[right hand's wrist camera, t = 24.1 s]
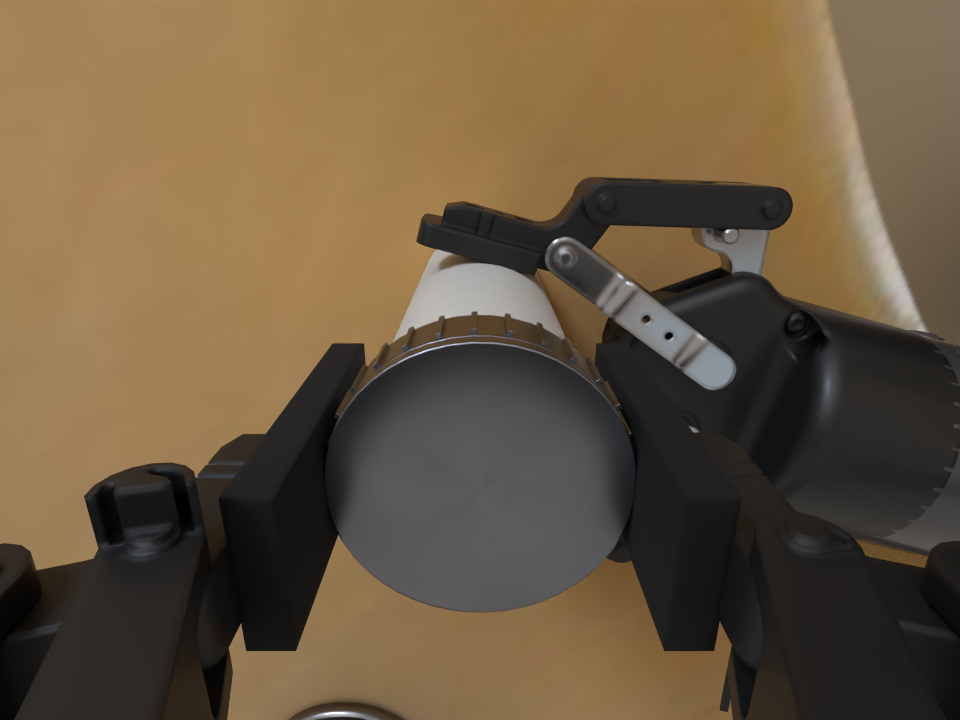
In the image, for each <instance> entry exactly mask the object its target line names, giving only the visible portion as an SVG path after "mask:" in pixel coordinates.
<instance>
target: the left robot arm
mask: <svg viewBox="0 0 960 720" xmlns="http://www.w3.org/2000/svg"><path fill="white" fill-rule="evenodd" d="M792 208H793V203H792V198H791V196H790V195H789V193H788V192H787V191H786V190H784V189H782V188H778V187H771V186H764V185H757V184H751V183H744V182H723V181H694V180H665V179H635V178H606V177H589V178H586V179H584V180H582V181H581V182H580V183H578V185H577V186H576V188H575V190H574V193H573V196H572V197H571V199H570V200H569V201H568V203H567V204H566V205H565V207H564V208H563V209H562V211H561V212H560V213H559V214H558V215H557V216H556V217H554V218H553V219H551V220H548V221H543V222H538V221H533V220H529V219H526V218H522V217H519V216H515V215H512V214H508V213H504V212H501V211H497V210H493V209H490V208H487V207H483V206H480V205H476V204H472V203H469V202H465V201H462V202H453V203H447V205H446V207H445V210H444V214H443V217H442V216H438V215H433V214H425V215H424V216H423V217H422V219H421V223H420V228H419V232H418V236H417V242H418V243H419V244H421V245H424V246H427V247H430V248H434V249H437V250H441V251H445V252H448V253H452V254H456V255H459V256H463V257H467V258H471V259H474V260H478V261H482V262H485V263H489V264H493V265H497V266H502V267H505V268H508V269H511V270H515V271H518V272H522V273H526V274H529V275H533V276H535V274H536V270H537V268H539V269H542V270H546V271H550V272H551V273H552V274H554V275H555V276H556V277H558V278H559V279H560V280H562V281H563V282H565V283H566V284H567V285H569V286H570V287H571V288H573V289H574V290H575V291H577V292H578V293H580V294H581V295H582V296H584V297H585V298H586V299H588V300H589V301H591V302H592V303H593V304H594V305H596V306H597V307H598V308H599V309H600V310H601V311H602V312H604V313H605V314H606V315H607V316H608V320H607V323H606V325H605V328H604V331H603V335H602V344H628V345H629V346H630V347H631V349H632V350H633V351H634V353H635V354H636V355H637V357H638V358H639V360H640V361H641V362H642V364H643V365H644V366H645V368H646V369H647V370H648V372H649V373H650V374H651V376H652V377H653V378H654V380H655V381H656V383H657V384H658V385H659V387H660V388H661V389H662V391H663V392H664V393H665V395H666V396H667V397H668V399H669V400H670V401H671V403H672V404H673V406H674V407H675V408H676V410H677V411H678V412H679V414H680V415H681V416H682V418H683V419H684V420H685V422H686V423H687V424H688V426H689V427H690V429H691V430H692V431H693V432H718V433H720V434H721V435H723V436H725V437H726V438H728V439H730V440H731V441H733V442H735V443H736V444H738V445H740V447H741V448H742V449H743V450H744V451H745V452H746V454H747V455H748V456H749V457H750V458H751V459H752V463H755V464H756V465H757V466H758V468H759V469H760V470H761V471H762V472H763V476H766V477H767V478H768V479H769V480H770V482H771V483H772V484H773V485H774V486H775V487H776V488H777V490H778V491H779V492H780V493H781V494H782V495H783V497H784V498H785V499H786V500H787V501H788V502H789V504H790V505H791V506H792V507H793V508H794V509H795V511H796V512H800V513H804V514H808V515H812V516H817V517H819V518H821V519H824V520H826V521H828V522H831V523H833V524H835V525H837V526H838V527H840V528H841V529H843V530H844V531H846V532H847V533H848V534H850V535H851V536H852V537H853V538H854V539H855V540H857V541H861V542H865V543H870V544H874V545H878V546H882V547H886V548H890V549H895V550H899V551H903V552H908V553H913V554H918V555H924V556H929V554H930V551H931V549H932V548H933V547H935V546H936V545H937V544H939V543H941V542H950V541H960V345H957V344H954V343H950V342H947V341H945V340H944V339H942V338H940V337H937V335H934V334H931V333H926V332H921V331H915V330H909V331H908V330H904V329H900V328H897V327H893V326H890V325H886V324H882V323H879V322H875V321H872V320H868V319H864V318H861V317H857V316H854V315H850V314H846V313H843V312H839V311H836V310H832V309H828V308H825V307H821V306H818V305H814V304H810V303H807V302H803V301H800V300H796V299H793V298H789V297H786V296H783V295H781V294H780V293H779V292H778V291H777V290H776V289H775V288H774V286H773V285H772V284H771V283H770V282H769V281H768V280H767V279H765V278H764V277H762V276H761V271H762V266H763V261H764V256H765V252H766V247H767V242H768V237H769V232H770V230H773V229H776V228H778V227H780V226H782V225H783V224H784V223H785V222H786V221H787V220H788V218H789V217H790V215H791V212H792ZM610 225H625V226H656V227H686V228H692V236H693V238H694V240H695V242H696V243H697V244H699V245H700V246H703V247H705V248H707V249H709V250H711V251H714V252H717V253H718V254H719V256H720V259H721V267H720V268H717V269H714V270H711V271H708V272H705V273H703V274H700V275H697V276H694V277H691V278H689V279H686V280H683V281H680V282H677V283H675V284H672V285H669V286H666V287H663V288H661V289H658V290H655V291H652V292H649V291H648V290H646V289H645V288H644V287H642V286H641V285H640V284H638V283H637V282H636V281H635V280H633V279H632V278H631V277H629V276H628V275H627V274H625V273H624V272H623V271H621V270H620V269H619V268H617V267H616V266H615V265H613V264H612V263H611V262H609V261H608V260H606V259H605V258H604V257H602V256H601V255H600V254H598V253H597V252H596V251H594V250H593V249H592V248H593V247H594V245H595V244H596V243H597V242H598V240H599V239H600V238H601V236H602V235H603V234H604V232H605V231H606V230H607V229H608V227H609V226H610ZM606 558H608V559H610V560H613V561H615V562H619V563H624V562H628V561H631V558H630V555H629V552H628V549H627V546H626V544H625V541H624V538H623V535H621V537H620V539H619V540H618V542H617V543H616V545H615V547H614V548H613V550H612V551H611V552H610V553H609V554H608V556H607V557H606ZM289 720H402V719H400V718H399V717H397V716H395V715H394V714H392V713H390V712H387V711H385V710H382V709H380V708H377V707H373V706H369V705H365V704H359V703H346V702H340V703H329V704H323V705H318V706H315V707H311V708H309V709H306V710H304V711H302V712H300V713H298V714H296V715H295V716H293V717H292V718H290V719H289Z"/></svg>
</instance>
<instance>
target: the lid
mask: <svg viewBox="0 0 960 720" xmlns="http://www.w3.org/2000/svg"><path fill="white" fill-rule="evenodd" d="M620 409H622V407H621V405H620V404H619V402H618V400H617V398H616V396H615V394H614V392H613V390H612V389H611V387H610V385H609V383H608V381H605V382H604V381H603V379H602V377H601V375H600V373H599V372H598V370H597V368H596V366H595V364H594V362H593V360H592V359H591V358H590V357H588V358H587V359H585V358H584V357H583V355H582V354H581V353H580V352H579V351H578V350H576V349H575V348H574V347H573V345H572V343H571V341H570V339H568V338H567V337H565V338H564V339H562V338H560V337H558V336H557V335H555V334H553V333H551V332H550V331H548V330H546V329H544V328H543V325H542V324H541V323H539V322H537V323H536V325H534V324H531V323H528V322H525V321H521V320H518V319H514V318H511V314H507V313H505V316H504V317H502V316H495V315H478V312H477V311H472V315H466V316H458V317H451V318H447V319H445V316H440V317H439V319H438V321H435V322H432V323H429V324H427V325H424V326H422V327H419V328H417V329H415V328H414V326H412V327H410V328H409V329H408V331H407V334H406V335H404V336H402V337H400V338H399V339H397V340H396V341H395V342H393V343H392V344H390V345H388V344H387V343H385V344H384V345H383V346H382V348H381V350H380V352H379V354H378V356H377V357H376V358H375V359H374V360H373V361H372V362H371V363H370V365H369V366H366V365H365V364H364V365H363V367H362V368H361V370H360V372H359V374H358V376H357V377H356V379H355V381H354V383H353V385H352V387H351V389H349V390H348V392H347V394H346V395H345V397H344V399H343V401H342V403H341V405H340V407H339V408H338V410H337V412H336V414H335V416H334V418H335V419H337V422H336V424H335V426H334V429H333V431H332V434H331V436H330V438H329V440H328V442H327V445H328V446H327V451H326V455H325V460H324V486H325V495H326V502H327V506H328V510H329V514H330V517H331V519H332V521H333V524H334V526H335V529H336V531H337V533H338V534H339V536H340V538H341V540H342V541H343V543H344V545H345V546H346V547H347V549H348V550H349V551H350V553H351V554H352V555H353V557H354V558H355V559H356V560H357V561H358V562H359V563H360V564H361V565H362V566H363V567H364V568H365V569H366V570H367V571H368V572H369V573H370V574H372V575H373V576H374V577H375V578H377V579H378V580H379V581H381V582H382V583H383V584H385V585H387V586H388V587H390V588H392V589H393V590H395V591H397V592H398V593H400V594H403V595H405V596H407V597H409V598H411V599H413V600H416V601H419V602H422V603H425V604H428V605H431V606H435V607H439V608H443V609H448V610H455V611H463V612H497V611H507V610H512V609H517V608H522V607H526V606H529V605H532V604H536V603H539V602H542V601H544V600H547V599H549V598H551V597H554V596H556V595H558V594H560V593H562V592H564V591H565V590H567V589H569V588H571V587H572V586H574V585H576V584H577V583H578V582H580V581H581V580H582V579H584V578H585V577H586V576H588V575H589V574H590V573H591V572H592V571H593V570H594V569H595V568H597V567H598V566H599V565H600V564H601V563H602V562H603V561H604V559H605V558H606V557H607V556H608V554H609V553H610V552H611V551H612V550H613V548H614V547H615V545H616V543H617V542H618V540H619V539H620V537H621V535H622V534H623V532H624V529H625V527H626V525H627V523H628V520H629V518H630V515H631V511H632V508H633V504H634V498H635V489H636V480H637V464H636V459H635V453H634V448H633V444H632V441H631V438H632V437H633V436H632V432H631V431H630V429H629V427H628V425H627V423H626V421H625V419H624V417H623V415H622V413H621V412H620Z"/></svg>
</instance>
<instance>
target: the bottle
mask: <svg viewBox="0 0 960 720" xmlns="http://www.w3.org/2000/svg"><path fill="white" fill-rule="evenodd" d="M472 311H477V312H478V315H495V316H502V317H504V316H505V313H507V314H511V318H514V319H518V320H521V321H525V322H528V323H531V324H534V325H536V323H537V322H539V323H541V324H542V325H543V328H544V329H546V330H548V331H550V332H551V333H553V334H555V335H557V336H558V337H560V338H562V339H564V338H565V335H564V333H563V331H562V328H561V326H560V324H559V322H558V319H557V317H556V315H555V313H554V310H553V308H552V306H551V303H550V301H549V299H548V297H547V294H546V292H545V290H544V288H543V285H542V283H541V281H540V278H539V276H538V274H537V272H536V274H535V276H533V275H529V274H526V273H522V272H518V271H515V270H511V269H508V268H505V267H502V266H497V265H493V264H489V263H485V262H482V261H478V260H474V259H471V258H467V257H463V256H459V255H456V254H452V253H448V252H445V251H441V250H437V249H436V250H435V251H434V253H433V254H432V256H431V258H430V259H429V262H428V264H427V266H426V268H425V271H424V273H423V275H422V277H421V280H420V282H419V284H418V287H417V289H416V291H415V293H414V296H413V298H412V300H411V302H410V305H409V307H408V309H407V311H406V314H405V316H404V318H403V321H402V323H401V325H400V327H399V330H398V332H397V334H396V336H395V339H394V341H393V342H395V341H396V340H397V339H399V338H400V337H402V336H404V335H406V334H407V331H408V329H409V328H410V327H412V326H414V328H415V329H417V328H419V327H422V326H424V325H427V324H429V323H432V322H435V321H438V319H439V317H440V316H445V319H447V318H451V317H458V316H466V315H472Z"/></svg>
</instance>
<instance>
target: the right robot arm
mask: <svg viewBox="0 0 960 720" xmlns="http://www.w3.org/2000/svg"><path fill="white" fill-rule="evenodd" d="M364 364H365V351H364V344H332V345H331V346H330V348H329V349H328V351H327V352H326V353H325V355H324V356H323V357H322V359H321V360H320V361H319V363H318V364H317V365H316V367H315V368H314V369H313V371H312V372H311V374H310V375H309V376H308V378H307V379H306V380H305V382H304V383H303V384H302V386H301V387H300V388H299V390H298V391H297V392H296V394H295V395H294V397H293V398H292V399H291V401H290V402H289V403H288V405H287V406H286V407H285V409H284V410H283V411H282V413H281V414H280V416H279V417H278V418H277V420H276V421H275V422H274V424H273V425H272V426H271V428H270V429H269V430H268V432H267V433H266V434H243V435H241V436H239V437H238V438H236V439H234V440H233V441H231V442H229V443H228V444H226V445H224V446H223V447H221V448H220V449H219V451H218V452H217V453H216V454H215V455H214V456H213V458H212V459H211V460H210V461H209V465H206V466H205V467H204V468H203V469H202V471H201V472H200V473H199V474H198V478H195V474H194V471H192V470H191V469H190V468H188V467H187V466H185V465H180V464H175V463H152V464H147V465H143V466H138V467H133V468H130V469H127V470H124V471H122V472H119V473H116V474H114V475H111V476H109V477H108V478H106V479H104V480H103V481H101V482H99V483H97V484H96V485H94V486H93V487H92V488H91V489H90V490H89V491H88V493H87V494H86V495H85V496H84V498H85V501H86V505H87V508H88V512H89V516H90V519H91V523H92V527H93V530H94V534H95V537H96V541H97V545H98V548H99V549H98V551H97V553H96V555H95V557H94V559H90V560H87V561H82V562H77V563H72V564H67V565H62V566H57V567H52V568H47V569H42V570H36V567H35V564H34V561H33V558H32V555H31V552H30V551H29V550H27V549H26V548H25V547H23V546H22V545H15V544H6V543H4V544H0V720H227V715H228V707H229V699H230V691H231V683H232V675H233V670H232V663H231V657H230V652H229V646H230V644H231V642H232V640H233V638H234V636H235V634H236V632H237V630H238V628H239V626H240V624H241V625H242V630H243V635H244V641H245V646H246V651H296V649H297V647H298V644H299V641H300V638H301V636H302V633H303V630H304V627H305V625H306V622H307V619H308V616H309V614H310V611H311V608H312V605H313V603H314V600H315V597H316V594H317V592H318V589H319V586H320V583H321V581H322V578H323V575H324V572H325V570H326V567H327V564H328V561H329V558H330V556H331V553H332V550H333V547H334V545H335V542H336V539H337V536H338V533H337V531H336V529H335V526H334V524H333V521H332V519H331V517H330V514H329V510H328V506H327V502H326V495H325V486H324V460H325V455H326V451H327V446H328V445H327V442H328V440H329V438H330V436H331V434H332V431H333V429H334V426H335V424H336V422H337V419H335V418H334V416H335V414H336V412H337V410H338V408H339V407H340V405H341V403H342V401H343V399H344V397H345V395H346V394H347V392H348V390H349V389H351V387H352V385H353V383H354V381H355V379H356V377H357V376H358V374H359V372H360V370H361V368H362V367H363V365H364ZM595 366H596V368H597V370H598V372H599V373H600V375H601V377H602V379H603V381H604V382H605V381H608V383H609V385H610V387H611V389H612V390H613V392H614V394H615V396H616V398H617V400H618V402H619V404H620V405H621V407H622V409H620V412H621V413H622V415H623V417H624V419H625V421H626V423H627V425H628V427H629V429H630V431H631V432H632V436H633V437H632V438H631V441H632V444H633V448H634V453H635V459H636V464H637V480H636V489H635V498H634V504H633V508H632V511H631V515H630V518H629V520H628V523H627V525H626V527H625V529H624V532H623V534H622V535H623V538H624V541H625V544H626V546H627V549H628V552H629V555H630V558H631V560H632V563H633V566H634V569H635V571H636V574H637V577H638V580H639V582H640V585H641V588H642V591H643V593H644V596H645V599H646V602H647V604H648V607H649V610H650V613H651V615H652V618H653V621H654V624H655V626H656V629H657V632H658V635H659V637H660V640H661V643H662V646H663V648H664V651H714V648H715V643H716V638H717V632H718V627H719V621H720V622H721V624H722V626H723V628H724V630H725V632H726V634H727V636H728V638H729V640H730V642H731V644H732V647H731V652H730V657H729V662H728V667H727V672H726V678H725V683H724V688H723V693H722V698H721V705H720V710H721V711H726V712H728V708H729V703H730V699H731V706H732V714H733V720H960V541H950V542H941V543H939V544H937V545H936V546H935V547H933V548H932V549H931V551H930V554H929V557H928V560H927V563H926V566H925V568H922V567H917V566H912V565H907V564H901V563H896V562H891V561H886V560H881V559H876V558H872V557H869V556H865V554H864V552H863V550H862V548H861V547H860V545H859V544H858V543H857V542H856V540H855V539H854V538H853V537H852V536H851V535H850V534H848V533H847V532H846V531H844V530H843V529H841V528H840V527H838V526H837V525H835V524H833V523H831V522H828V521H826V520H824V519H821V518H819V517H817V516H812V515H808V514H804V513H800V512H796V511H795V509H794V508H793V507H792V506H791V505H790V504H789V502H788V501H787V500H786V499H785V498H784V497H783V495H782V494H781V493H780V492H779V491H778V490H777V488H776V487H775V486H774V485H773V484H772V483H771V482H770V480H769V479H768V478H767V477H766V476H763V472H762V471H761V470H760V469H759V468H758V466H757V465H756V464H755V463H752V459H751V458H750V457H749V456H748V455H747V454H746V452H745V451H744V450H743V449H742V448H741V447H740V445H738V444H736V443H735V442H733V441H731V440H730V439H728V438H726V437H725V436H723V435H721V434H720V433H718V432H693V431H692V430H691V429H690V427H689V426H688V424H687V423H686V422H685V420H684V419H683V418H682V416H681V415H680V414H679V412H678V411H677V410H676V408H675V407H674V406H673V404H672V403H671V401H670V400H669V399H668V397H667V396H666V395H665V393H664V392H663V391H662V389H661V388H660V387H659V385H658V384H657V383H656V381H655V380H654V378H653V377H652V376H651V374H650V373H649V372H648V370H647V369H646V368H645V366H644V365H643V364H642V362H641V361H640V360H639V358H638V357H637V355H636V354H635V353H634V351H633V350H632V349H631V347H630V346H629V345H628V344H596V356H595Z"/></svg>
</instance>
